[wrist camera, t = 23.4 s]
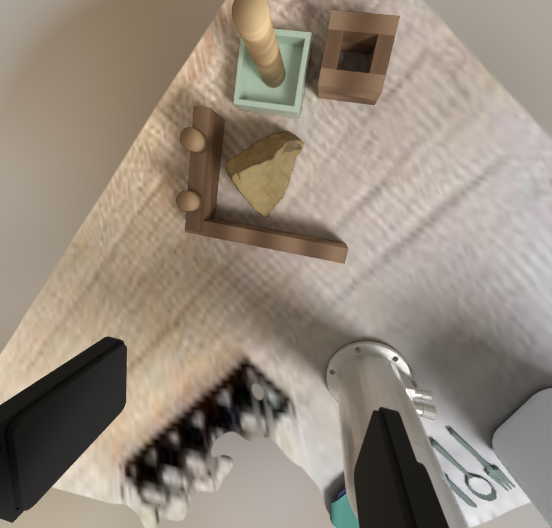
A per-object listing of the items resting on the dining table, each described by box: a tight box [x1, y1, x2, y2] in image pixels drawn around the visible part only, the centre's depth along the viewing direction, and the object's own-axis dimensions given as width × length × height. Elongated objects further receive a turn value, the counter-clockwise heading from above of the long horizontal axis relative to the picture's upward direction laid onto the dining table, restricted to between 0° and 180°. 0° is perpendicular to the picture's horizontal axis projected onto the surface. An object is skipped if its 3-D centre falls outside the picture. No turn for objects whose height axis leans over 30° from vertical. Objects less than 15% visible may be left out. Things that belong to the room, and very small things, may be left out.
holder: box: [318, 10, 400, 105], centre depth 30 cm, size 7×7×4 cm
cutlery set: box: [330, 428, 515, 528], centre depth 46 cm, size 20×30×2 cm, turn 137°
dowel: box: [232, 0, 286, 88], centre depth 28 cm, size 3×3×12 cm
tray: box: [233, 29, 312, 118], centre depth 33 cm, size 8×8×2 cm
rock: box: [225, 131, 304, 218], centre depth 34 cm, size 11×9×10 cm
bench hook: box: [176, 106, 348, 264], centre depth 34 cm, size 22×16×7 cm
